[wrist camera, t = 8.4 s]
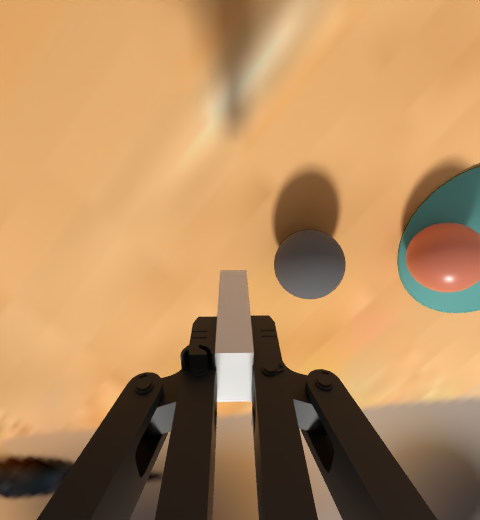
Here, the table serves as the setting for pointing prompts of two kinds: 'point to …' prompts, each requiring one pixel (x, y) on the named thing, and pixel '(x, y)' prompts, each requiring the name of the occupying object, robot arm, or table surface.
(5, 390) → the table surface
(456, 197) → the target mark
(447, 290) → the object ball
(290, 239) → the dark gray ball
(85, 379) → the table surface
